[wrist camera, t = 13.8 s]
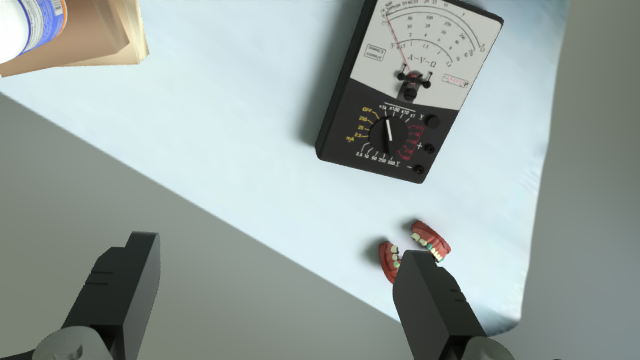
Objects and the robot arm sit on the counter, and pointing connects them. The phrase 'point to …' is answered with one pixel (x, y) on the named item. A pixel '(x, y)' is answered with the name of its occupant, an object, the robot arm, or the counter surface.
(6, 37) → the pill bottle
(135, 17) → the beech block
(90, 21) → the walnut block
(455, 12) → the multimeter
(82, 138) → the counter surface
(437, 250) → the dentures
